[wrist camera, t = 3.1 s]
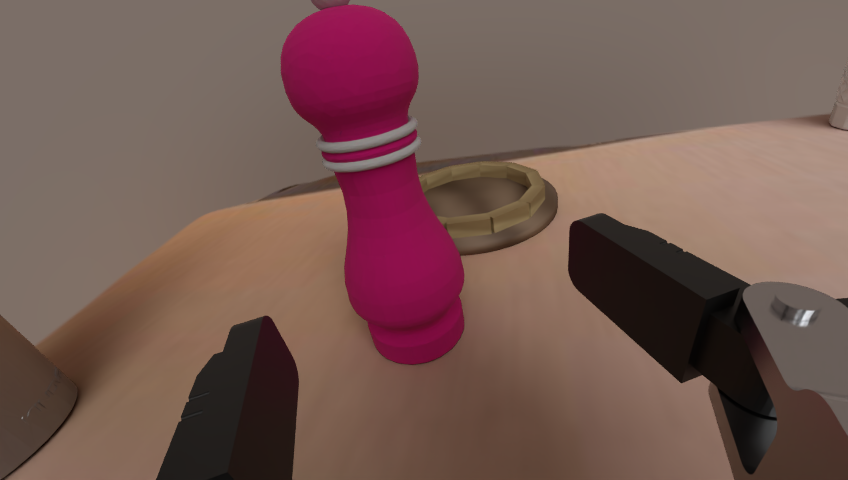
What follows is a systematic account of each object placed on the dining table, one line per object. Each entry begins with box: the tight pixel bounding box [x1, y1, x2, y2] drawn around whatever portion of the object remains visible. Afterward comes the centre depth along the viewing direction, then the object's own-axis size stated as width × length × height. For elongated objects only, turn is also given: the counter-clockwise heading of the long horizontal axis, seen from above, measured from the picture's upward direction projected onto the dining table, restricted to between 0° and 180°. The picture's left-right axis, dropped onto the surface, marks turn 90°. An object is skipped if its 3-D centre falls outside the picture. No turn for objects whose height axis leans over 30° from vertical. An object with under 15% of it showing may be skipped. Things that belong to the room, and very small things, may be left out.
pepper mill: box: [281, 0, 464, 365], centre depth 18 cm, size 7×7×20 cm
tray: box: [419, 161, 558, 255], centre depth 37 cm, size 18×18×2 cm
